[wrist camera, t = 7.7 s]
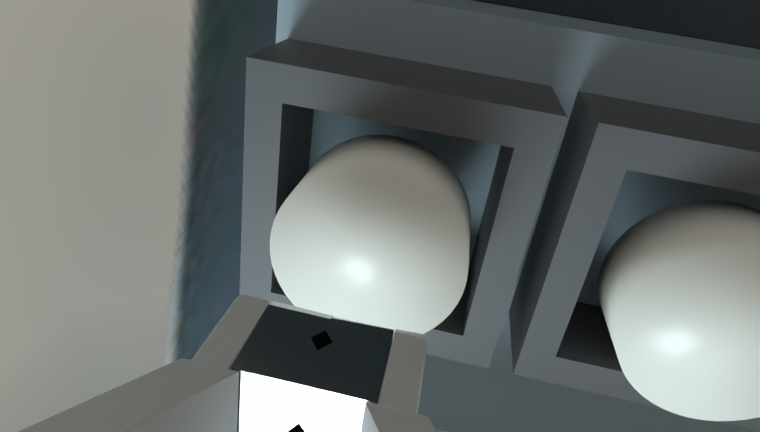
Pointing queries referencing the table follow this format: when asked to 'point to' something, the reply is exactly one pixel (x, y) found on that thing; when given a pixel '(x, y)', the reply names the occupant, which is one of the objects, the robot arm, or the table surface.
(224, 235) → the table surface
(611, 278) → the middle button
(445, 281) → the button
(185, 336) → the table surface
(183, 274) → the table surface
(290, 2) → the button board
